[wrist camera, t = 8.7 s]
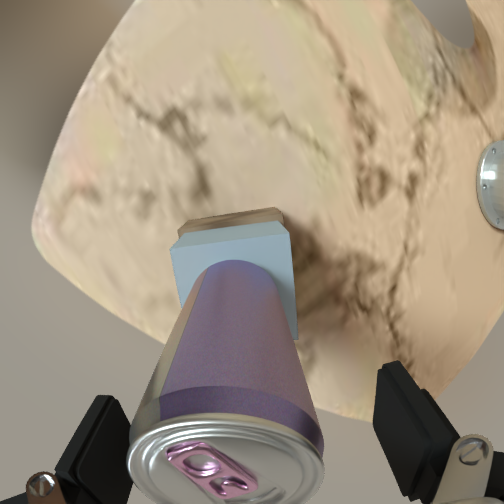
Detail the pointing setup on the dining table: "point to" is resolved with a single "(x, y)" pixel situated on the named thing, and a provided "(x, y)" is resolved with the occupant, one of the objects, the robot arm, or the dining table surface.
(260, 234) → the top block
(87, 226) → the dining table surface
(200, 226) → the base block
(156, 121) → the dining table surface
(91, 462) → the robot arm
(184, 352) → the beverage can
